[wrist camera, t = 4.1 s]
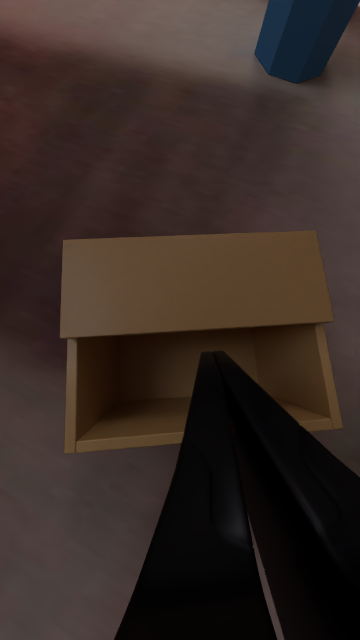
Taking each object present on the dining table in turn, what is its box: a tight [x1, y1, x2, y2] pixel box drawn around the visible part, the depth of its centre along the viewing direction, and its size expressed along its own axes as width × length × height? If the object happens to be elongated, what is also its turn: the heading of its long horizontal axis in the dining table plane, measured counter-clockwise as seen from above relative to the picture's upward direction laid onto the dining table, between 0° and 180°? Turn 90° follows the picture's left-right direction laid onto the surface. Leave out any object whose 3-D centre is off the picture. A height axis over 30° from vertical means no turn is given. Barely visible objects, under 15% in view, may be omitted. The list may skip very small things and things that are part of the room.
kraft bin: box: [65, 323, 343, 454], centre depth 15 cm, size 10×13×9 cm
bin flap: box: [60, 231, 334, 339], centre depth 10 cm, size 5×13×1 cm, turn 94°
